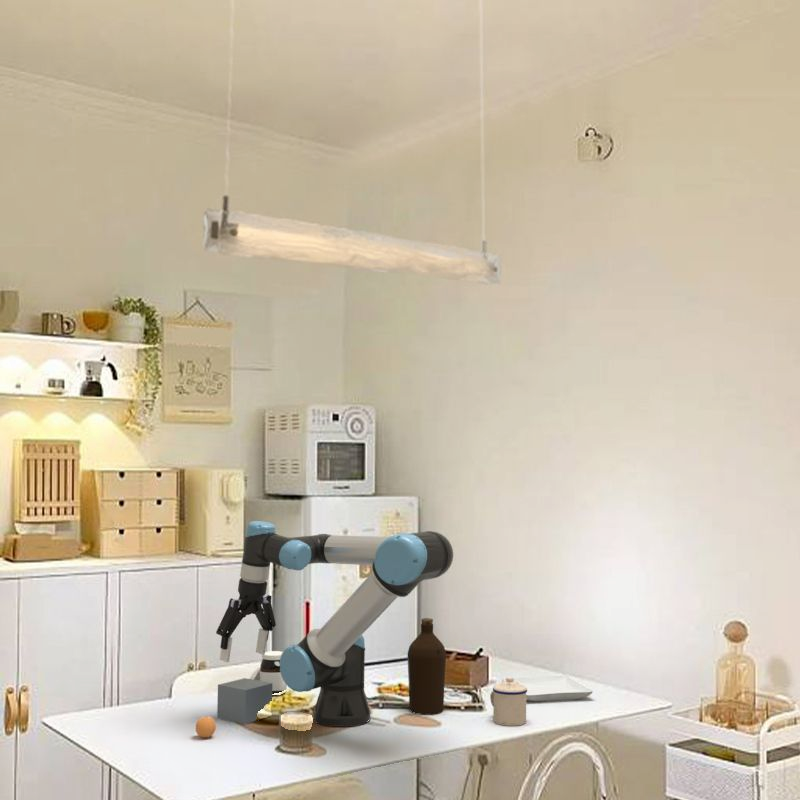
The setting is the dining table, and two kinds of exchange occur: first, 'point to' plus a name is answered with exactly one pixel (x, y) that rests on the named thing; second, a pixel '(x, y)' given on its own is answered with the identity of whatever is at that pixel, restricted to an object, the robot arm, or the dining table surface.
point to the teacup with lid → (509, 703)
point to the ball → (205, 727)
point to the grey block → (242, 699)
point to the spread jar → (270, 671)
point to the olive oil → (426, 671)
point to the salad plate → (553, 688)
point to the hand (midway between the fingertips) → (242, 657)
